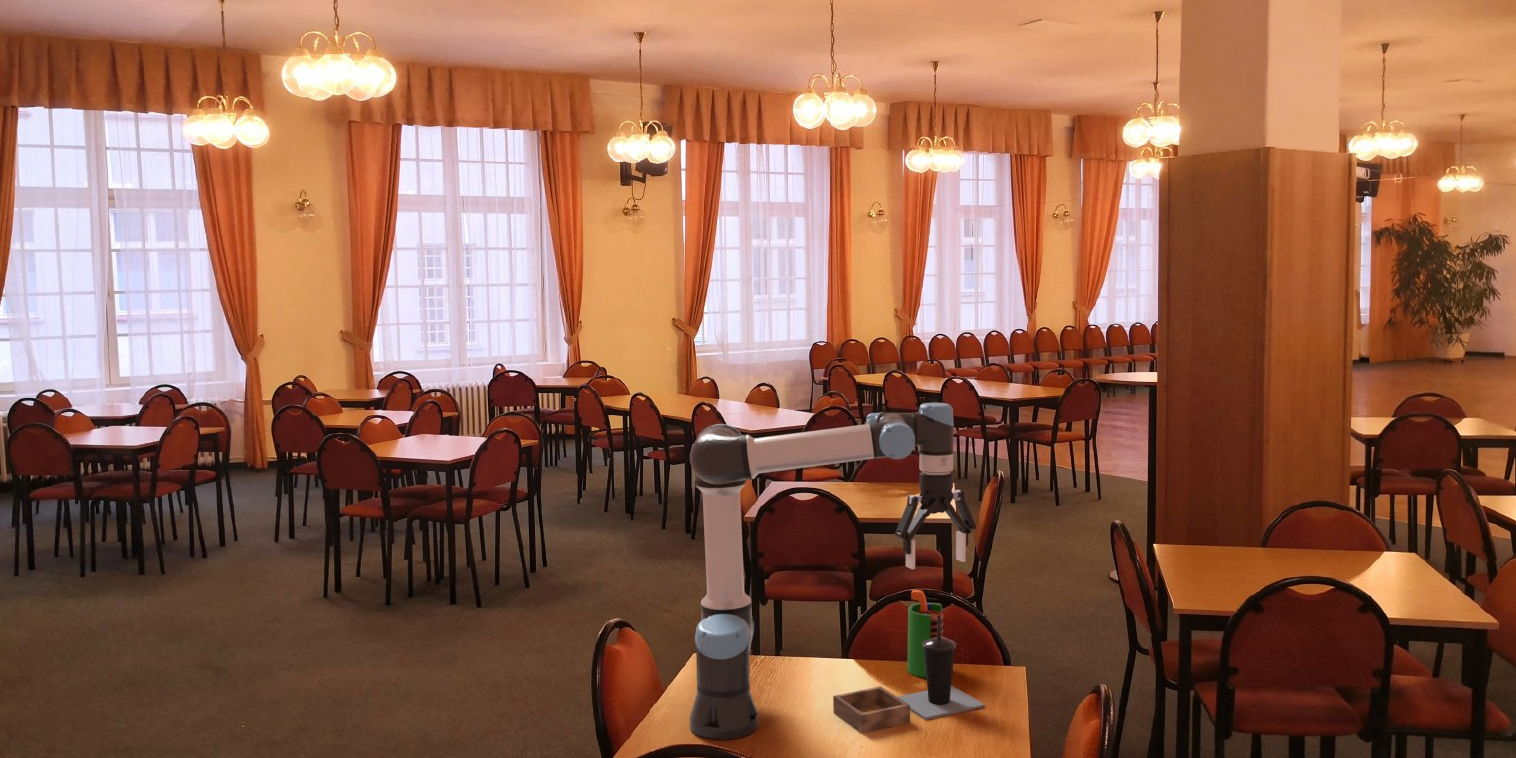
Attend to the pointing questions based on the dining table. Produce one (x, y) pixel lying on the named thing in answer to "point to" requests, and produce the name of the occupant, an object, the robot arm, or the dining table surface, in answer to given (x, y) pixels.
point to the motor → (921, 630)
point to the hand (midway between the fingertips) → (935, 564)
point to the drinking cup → (939, 667)
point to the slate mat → (929, 710)
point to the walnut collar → (874, 720)
